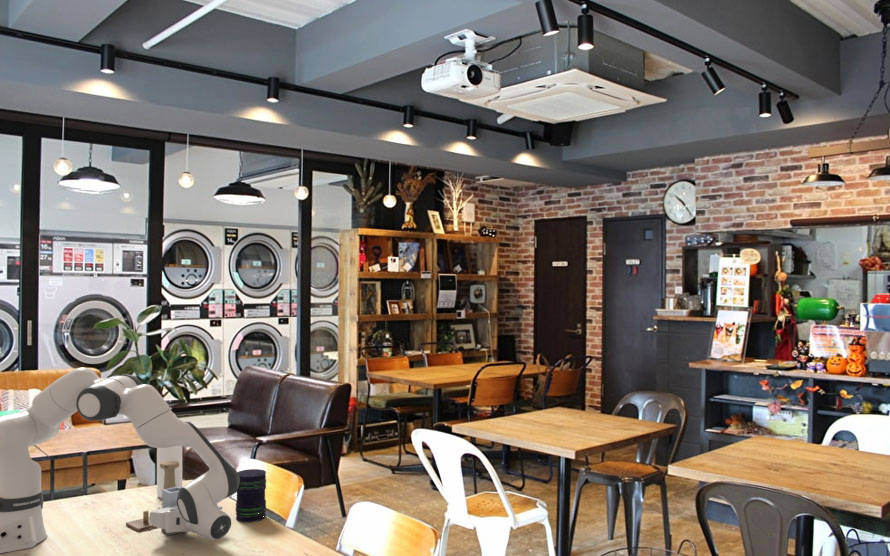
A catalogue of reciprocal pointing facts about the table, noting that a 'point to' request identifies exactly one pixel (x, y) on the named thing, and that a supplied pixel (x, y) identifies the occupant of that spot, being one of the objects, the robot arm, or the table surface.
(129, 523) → the pin board
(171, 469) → the handle
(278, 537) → the table surface
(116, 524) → the table surface
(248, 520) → the black cylinder
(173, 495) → the sleeve
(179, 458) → the alcohol
